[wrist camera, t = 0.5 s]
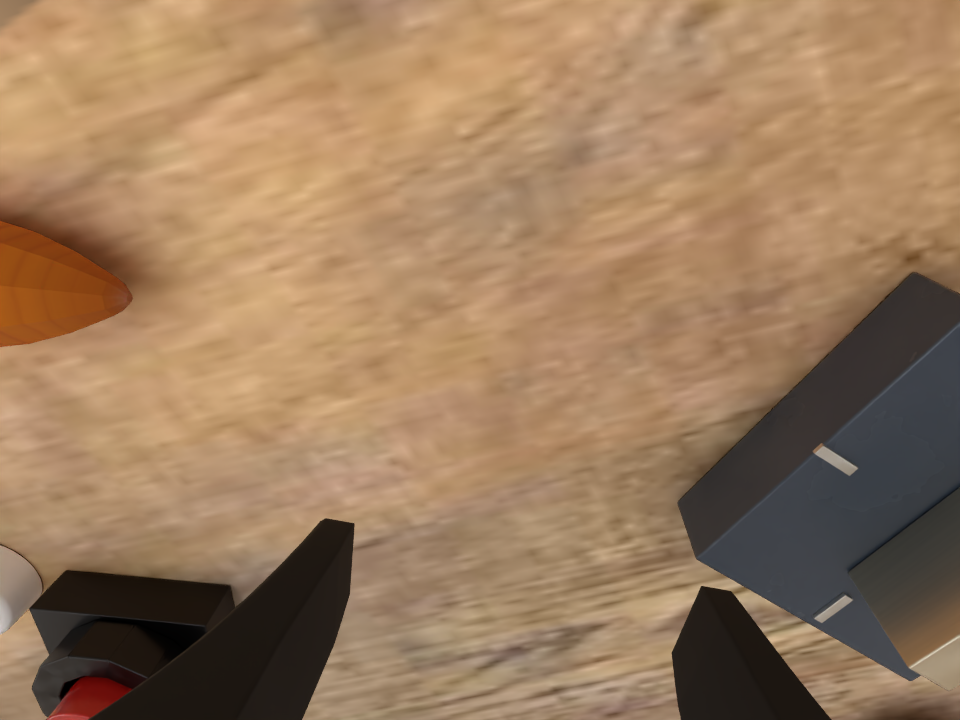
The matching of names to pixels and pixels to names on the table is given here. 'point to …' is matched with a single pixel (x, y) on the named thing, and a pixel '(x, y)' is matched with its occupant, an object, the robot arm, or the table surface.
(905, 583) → the silver block
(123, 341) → the table surface
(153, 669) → the button box
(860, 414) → the panel
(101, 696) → the red button
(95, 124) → the table surface
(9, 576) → the decorative finial
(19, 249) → the carrot
